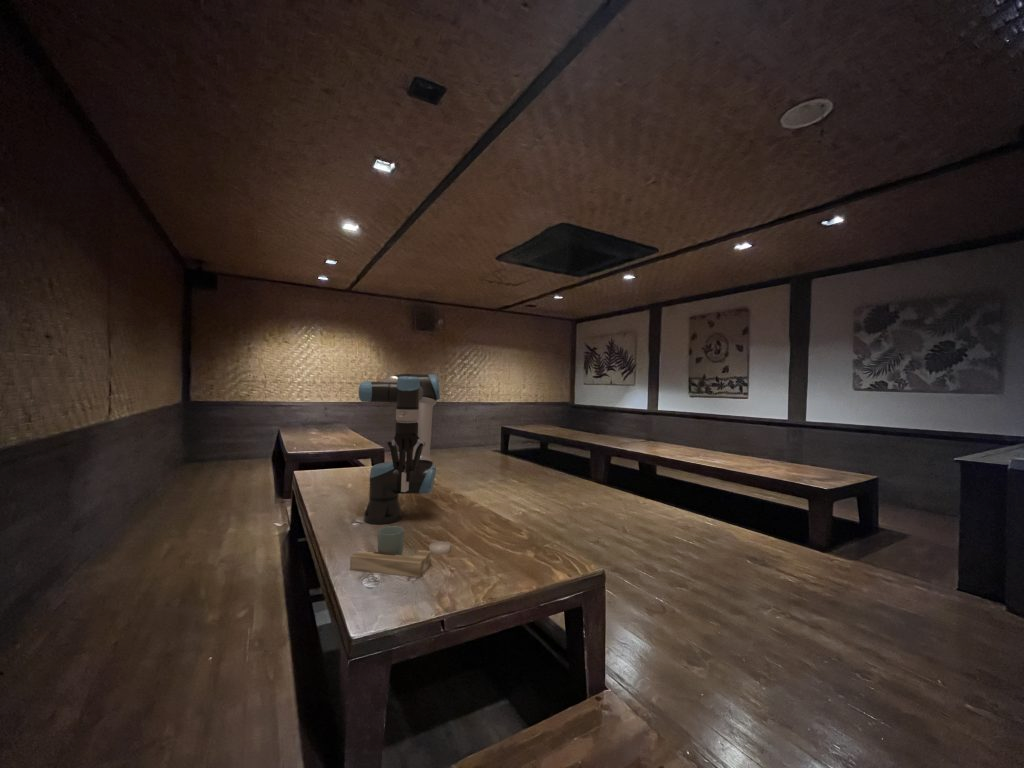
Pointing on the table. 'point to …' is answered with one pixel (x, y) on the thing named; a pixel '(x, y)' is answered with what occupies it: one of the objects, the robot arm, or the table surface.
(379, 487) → the robot arm
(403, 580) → the table surface
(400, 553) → the cup
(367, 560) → the wooden block
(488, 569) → the table surface
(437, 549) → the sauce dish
